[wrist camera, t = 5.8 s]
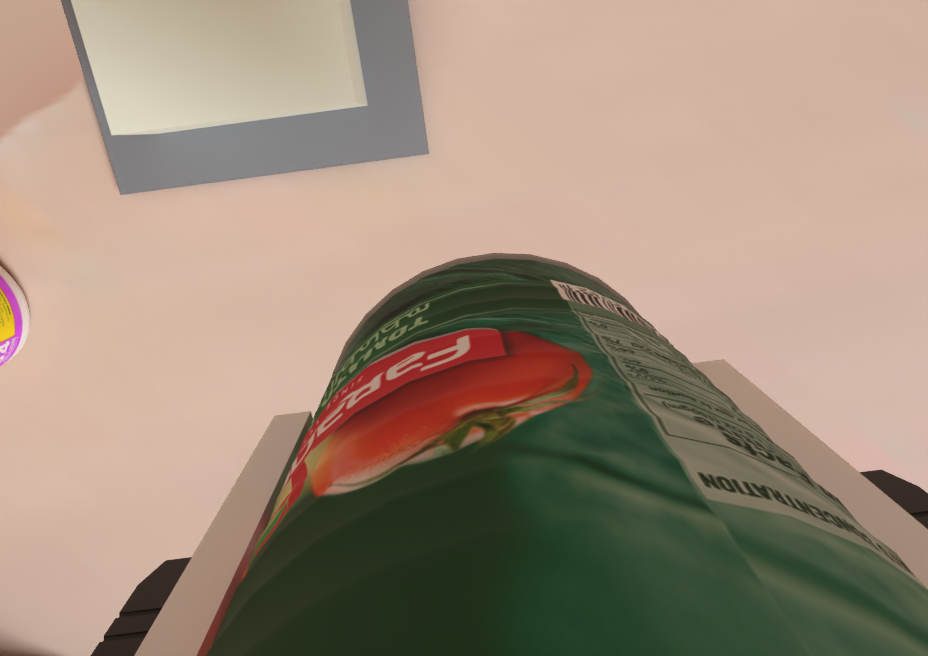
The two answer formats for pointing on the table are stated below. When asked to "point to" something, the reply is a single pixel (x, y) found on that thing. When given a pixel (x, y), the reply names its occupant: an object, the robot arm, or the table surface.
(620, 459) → the canned tomato
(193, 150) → the grey flat square
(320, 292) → the table surface
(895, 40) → the table surface
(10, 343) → the supplement bottle
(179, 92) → the cream base block
